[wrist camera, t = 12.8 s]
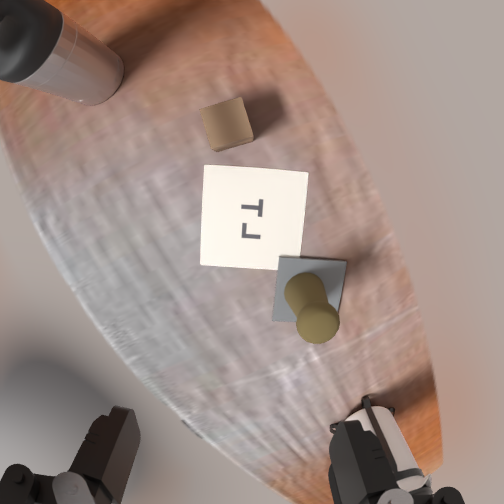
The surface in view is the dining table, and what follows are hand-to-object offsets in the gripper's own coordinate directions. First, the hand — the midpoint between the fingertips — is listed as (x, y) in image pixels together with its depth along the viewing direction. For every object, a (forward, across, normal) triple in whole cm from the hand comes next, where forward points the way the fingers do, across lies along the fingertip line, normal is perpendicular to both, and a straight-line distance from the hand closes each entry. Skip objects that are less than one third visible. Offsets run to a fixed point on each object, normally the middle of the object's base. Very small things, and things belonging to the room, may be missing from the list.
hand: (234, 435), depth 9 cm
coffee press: (+32, -27, +38) cm, 57 cm away
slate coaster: (+32, -10, +7) cm, 34 cm away
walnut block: (+32, +3, -15) cm, 36 cm away
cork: (+32, -9, +7) cm, 34 cm away
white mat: (+32, -1, -3) cm, 32 cm away
